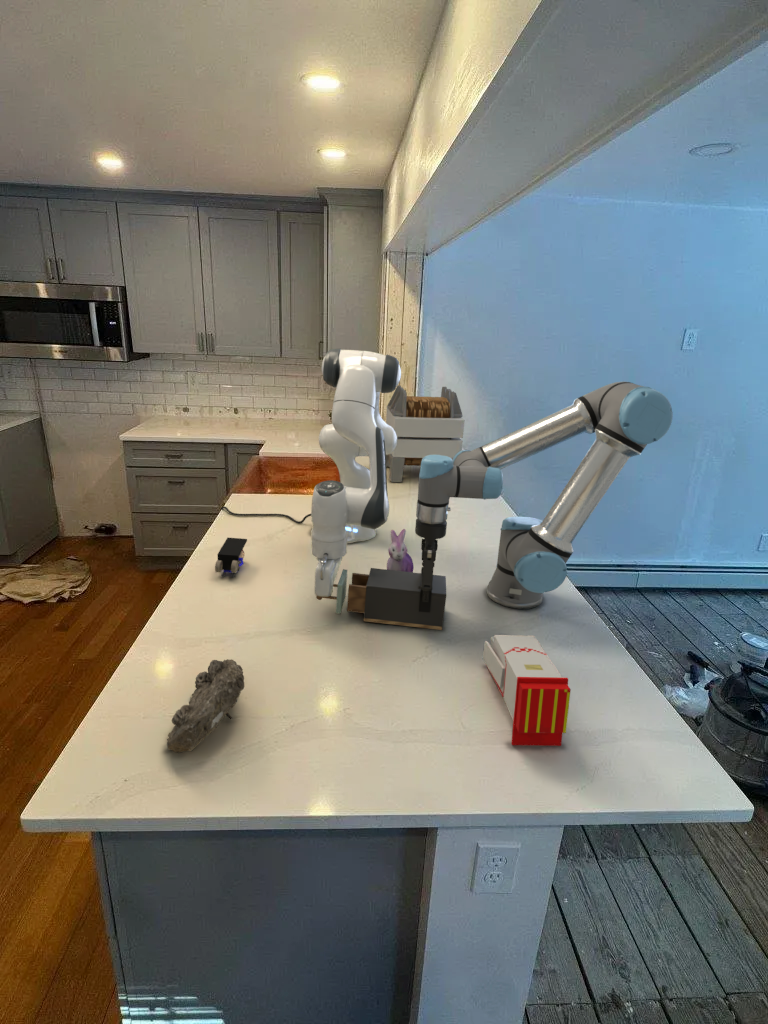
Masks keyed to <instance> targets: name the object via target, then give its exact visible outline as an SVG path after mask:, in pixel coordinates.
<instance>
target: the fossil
mask: <svg viewBox="0 0 768 1024" xmlns="http://www.w3.org/2000/svg"><path fill="white" fill-rule="evenodd" d="M243 670H244V669H243V667H242V665H240V664H237V662H236V661H235V660H234V659H232V658H231V659H227V658H226V659H224V660H223V661H222V660H217V659H212V660H211V661H210V663H209V665H208V666H207V671H201V672H199V673H198V674H197V675H196V676H195V680H194V684H195V685H194V687H195V689H194V690H193V693H192V694H191V697H190V698H189V700H188V704H184V705H182V706H181V707H180V709H177V710H176V711H175V713H174V715H173V716H172V718H171V723H172V724H173V727H172V730H171V731H170V732H168V734H167V738H166V741H167V742H166V745H167V749H168V750H169V751H173V752H174V753H176V754H178V753H182V752H188V751H189V752H192V751H193V750H195V748H196V747H197V746H199V744H200V743H201V742H203V741H204V740H205V739H206V738H207V737H208V736H209V735H210V734H211V733H212V732H214V730H215V729H217V727H218V726H219V724H220V722H221V721H222V720H223V719H224V718H225V716H226V717H227V719H229V720H233V717H232V715H230V714H229V710H230V709H231V708H234V706H235V704H236V703H237V702H238V699H239V697H240V695H241V693H242V691H243V690H245V689H244V688H245V675H244V671H243Z"/></svg>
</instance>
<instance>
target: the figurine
mask: <svg viewBox="0 0 768 1024" xmlns="http://www.w3.org/2000/svg"><path fill="white" fill-rule="evenodd" d="M406 534H407V530H406V529H405V528H403V529H401V531H400V532H399V534H398V535H397V533H396V531H395V530H394V529H391V530H390V544H389V546H388V549H387V551H388V552H387V553H388V555H389V557H388V559H387V560H386V561H387V562H386V570H395V571H404V572H413V573H414V570H415V569H414V562H413V559H412V556H411V555H410V554H409V553H408V548H407V544H406V543H405V539H406Z"/></svg>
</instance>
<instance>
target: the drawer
mask: <svg viewBox="0 0 768 1024" xmlns="http://www.w3.org/2000/svg"><path fill="white" fill-rule="evenodd" d="M368 577H369V574H367V573H359V572H352V574H351V583H348V569H344V568H343V569H342V571H341V573H340V576H339V579H338V583H334V584H333V588H336V596H333V595H332V596H329V597H320V596H316V595H315V598H316V600H318V601H321V600H323V599H327V600H335V601H336V604H335V605H336V606H335V614H341V613H342V610H343V607H344V604H345V600H346V597H347V606H346V611H347V612H350V613H361V614H364V610H365V597H366V585H367V581H368ZM347 583H348V585H347ZM347 586H348V590H347Z"/></svg>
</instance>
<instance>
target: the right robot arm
mask: <svg viewBox="0 0 768 1024" xmlns="http://www.w3.org/2000/svg"><path fill="white" fill-rule="evenodd" d="M673 413H674V411H673V408H672V404H671V402H670V400H669V399H668V398H667V396H666V395H664V394H663V393H662V392H660V391H658V390H657V389H655V388H652V387H650V386H645V385H640V384H637V383H634V382H631V381H624V380H623V381H615V382H612V383H609V384H606V385H604V386H601V387H599V388H596V389H594V390H592V391H590V392H588V393H586V394H584V395H582V396H579V397H577V398H575V399H574V400H573V403H572V404H571V405H569V406H567V407H565V408H562V409H560V410H558V411H556V412H554V413H552V414H550V415H547V416H545V417H542V418H540V419H538V420H536V421H534V422H531V423H529V424H528V425H525V426H523V427H521V428H518V429H516V430H514V431H512V432H510V433H508V434H506V435H504V436H502V437H499V438H497V439H495V440H492V441H490V442H488V443H486V444H483V445H481V446H479V447H477V448H474V449H472V450H470V449H462V451H460V452H458V453H457V454H456V455H455V456H454V458H453V460H452V459H451V458H450V457H448V456H441V455H428V456H425V457H424V458H423V459H422V461H421V466H419V467H420V469H419V474H418V490H417V499H416V500H417V501H416V510H415V511H416V512H415V517H416V519H415V529H414V532H415V535H416V536H418V537H420V538H421V542H420V543H421V544H420V547H421V548H420V550H421V571H420V573H422V585H421V586H418V589H421V590H420V602H419V612H430V605H431V594H432V588H433V587H432V581H433V575H434V568H435V562H436V559H437V551H438V548H439V545H438V540H441V539H443V538H444V537H446V535H447V527H448V522H447V520H448V516H449V515H448V514H449V512H451V510H452V509H451V507H450V506H449V504H450V498H458V499H459V498H460V499H477V500H496V499H499V498H500V496H501V495H502V492H503V487H504V476H503V475H504V474H503V472H502V470H503V469H506V468H507V467H509V466H512V465H514V464H517V463H519V462H521V461H524V460H526V459H528V458H530V457H532V456H535V455H537V454H539V453H541V452H544V451H546V450H548V449H550V448H553V447H556V446H557V445H559V444H561V443H564V442H566V441H568V440H570V439H573V438H575V437H579V436H580V435H582V434H589V435H593V434H595V440H594V441H593V443H592V445H591V446H590V448H589V449H588V450H587V452H586V454H585V456H584V457H583V458H582V460H581V462H580V463H579V465H578V466H577V467H576V469H575V470H574V472H573V474H572V475H571V477H570V478H569V480H568V481H567V483H566V484H565V486H564V488H563V489H562V491H561V492H560V493H559V495H558V497H557V498H556V500H555V501H554V503H553V504H552V506H551V507H550V509H549V511H548V512H547V513H546V515H545V517H544V518H543V519H539V518H535V517H532V516H531V517H529V516H509V517H506V518H504V519H503V520H502V522H501V527H500V536H499V545H498V552H497V562H496V567H495V570H494V572H493V575H492V577H491V579H490V580H489V582H488V585H487V589H486V594H487V596H488V597H489V599H490V600H491V601H493V602H495V603H496V604H498V605H500V606H503V607H507V608H512V609H516V610H517V609H518V610H526V609H527V610H528V609H532V608H535V607H538V606H540V605H541V604H542V602H543V598H544V593H548V592H550V593H551V592H552V591H555V590H556V589H558V588H559V587H561V585H562V584H563V583H564V582H565V580H566V578H567V575H568V567H567V562H568V561H569V560H570V558H571V556H572V555H573V554H574V547H573V542H574V540H575V538H576V537H577V536H578V534H579V533H580V532H581V530H582V528H583V527H584V525H585V524H586V523H587V521H588V519H589V518H590V517H591V515H592V513H593V512H594V511H595V510H596V508H597V506H598V505H599V504H600V502H601V501H602V499H603V498H604V496H605V495H606V493H607V492H608V490H609V489H610V487H611V486H612V484H613V483H614V481H615V480H616V478H617V477H618V475H619V474H620V472H621V471H622V470H623V468H624V467H625V465H626V464H627V462H628V461H629V459H631V458H632V457H636V456H640V455H641V454H642V452H643V451H644V450H645V449H646V447H647V445H649V444H652V443H655V442H658V441H660V440H661V439H662V438H663V437H664V436H666V434H667V433H668V431H669V430H670V428H671V425H672V422H673V415H674V414H673Z"/></svg>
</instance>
